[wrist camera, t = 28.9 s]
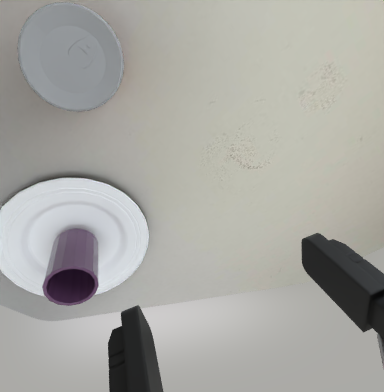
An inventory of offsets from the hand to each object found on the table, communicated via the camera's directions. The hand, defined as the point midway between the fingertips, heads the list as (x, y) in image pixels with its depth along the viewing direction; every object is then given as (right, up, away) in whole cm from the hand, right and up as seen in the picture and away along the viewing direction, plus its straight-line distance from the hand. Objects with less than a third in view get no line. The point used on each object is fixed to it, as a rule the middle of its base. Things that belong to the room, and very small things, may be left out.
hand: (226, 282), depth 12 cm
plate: (-19, -2, +28) cm, 34 cm away
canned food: (-14, +19, +18) cm, 30 cm away
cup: (-18, -3, +26) cm, 32 cm away
